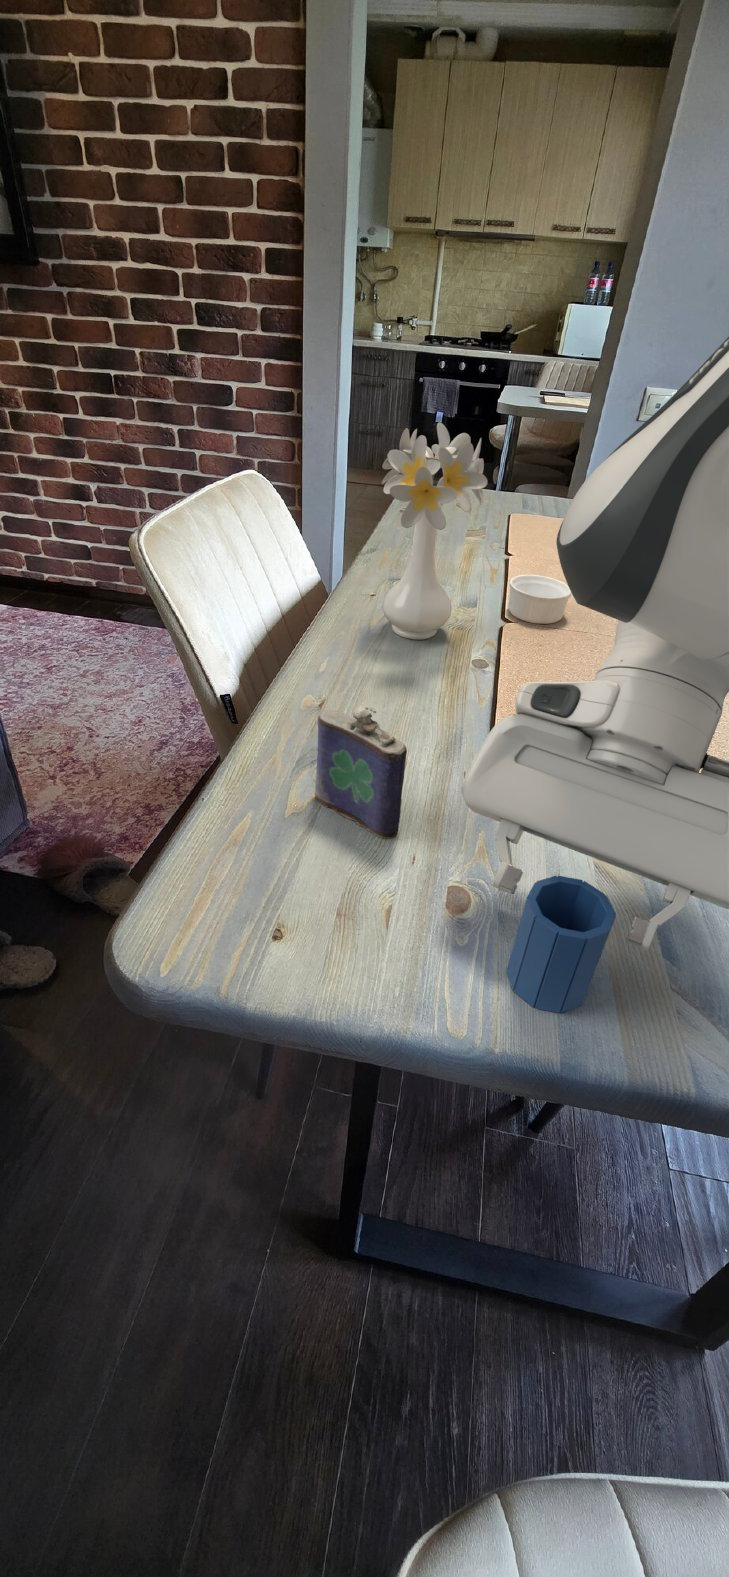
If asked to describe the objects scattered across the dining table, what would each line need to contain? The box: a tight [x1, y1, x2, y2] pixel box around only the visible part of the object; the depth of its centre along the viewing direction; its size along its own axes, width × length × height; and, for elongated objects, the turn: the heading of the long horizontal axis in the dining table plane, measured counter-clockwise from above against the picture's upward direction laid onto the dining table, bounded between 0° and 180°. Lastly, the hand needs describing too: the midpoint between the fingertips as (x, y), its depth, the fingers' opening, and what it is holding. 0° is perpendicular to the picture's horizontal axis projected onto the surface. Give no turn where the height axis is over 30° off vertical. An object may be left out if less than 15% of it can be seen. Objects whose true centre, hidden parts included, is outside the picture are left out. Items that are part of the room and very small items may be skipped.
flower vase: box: [381, 422, 488, 641], centre depth 93 cm, size 13×18×25 cm
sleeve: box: [506, 875, 617, 1014], centre depth 51 cm, size 6×6×8 cm
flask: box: [314, 706, 408, 840], centre depth 64 cm, size 9×3×11 cm, turn 50°
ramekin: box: [507, 574, 572, 625], centre depth 107 cm, size 9×9×4 cm
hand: (567, 917), depth 50 cm, fingers open, 8 cm apart
